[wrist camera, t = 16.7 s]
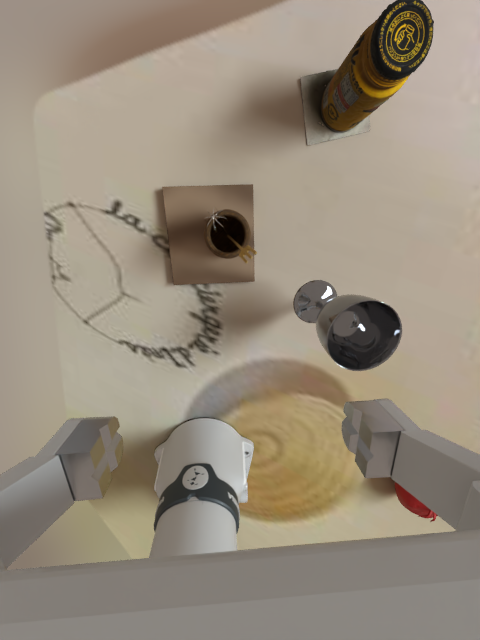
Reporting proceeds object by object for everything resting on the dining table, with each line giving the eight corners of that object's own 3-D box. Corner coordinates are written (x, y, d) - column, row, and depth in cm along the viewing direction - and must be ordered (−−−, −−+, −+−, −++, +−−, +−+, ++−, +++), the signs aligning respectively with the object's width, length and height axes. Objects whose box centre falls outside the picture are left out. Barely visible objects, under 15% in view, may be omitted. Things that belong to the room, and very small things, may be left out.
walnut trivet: (253, 280, 39) (254, 281, 38) (175, 283, 38) (173, 284, 37) (252, 186, 35) (253, 184, 33) (164, 188, 34) (162, 186, 33)
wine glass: (283, 317, 41) (314, 359, 27) (303, 270, 39) (348, 289, 24) (327, 331, 42) (378, 379, 28) (348, 287, 40) (416, 314, 26)
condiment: (369, 131, 33) (443, 76, 22) (306, 145, 34) (348, 99, 22) (366, 63, 31) (447, -38, 20) (299, 78, 31) (342, -12, 20)
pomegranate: (381, 489, 55) (410, 537, 46) (396, 453, 52) (431, 498, 43) (422, 492, 56) (459, 540, 47) (440, 457, 53) (483, 501, 44)
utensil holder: (226, 202, 34) (226, 184, 23) (258, 236, 36) (273, 236, 24) (197, 234, 35) (183, 233, 24) (229, 266, 37) (231, 280, 25)
